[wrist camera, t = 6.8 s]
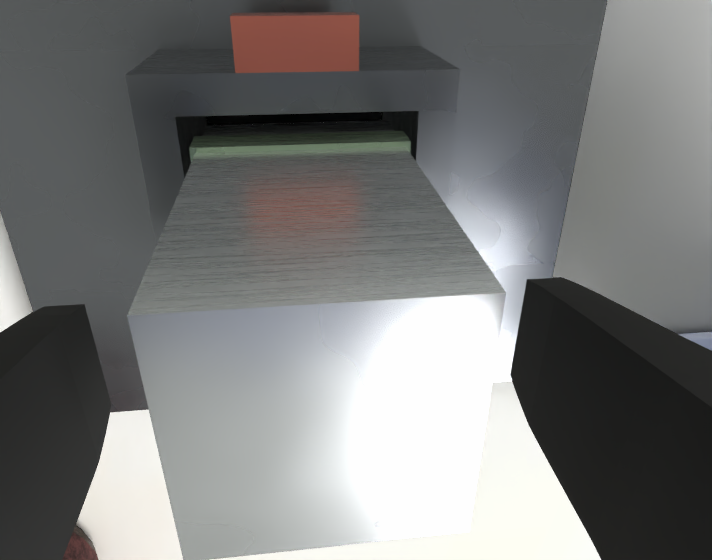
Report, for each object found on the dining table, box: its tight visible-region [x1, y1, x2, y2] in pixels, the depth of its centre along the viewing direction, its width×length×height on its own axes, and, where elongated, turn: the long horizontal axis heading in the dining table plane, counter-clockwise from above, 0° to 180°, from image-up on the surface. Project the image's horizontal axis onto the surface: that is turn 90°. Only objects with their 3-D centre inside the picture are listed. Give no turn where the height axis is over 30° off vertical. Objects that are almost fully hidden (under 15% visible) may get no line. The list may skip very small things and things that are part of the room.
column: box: [127, 120, 506, 560], centre depth 10 cm, size 4×4×8 cm
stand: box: [0, 0, 607, 412], centre depth 15 cm, size 16×16×4 cm
